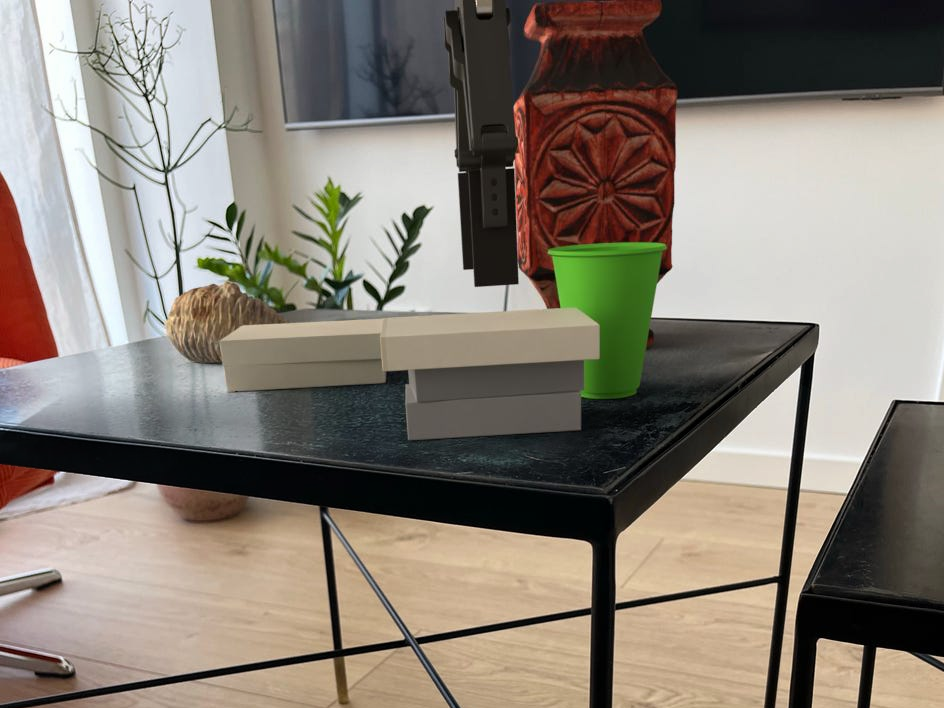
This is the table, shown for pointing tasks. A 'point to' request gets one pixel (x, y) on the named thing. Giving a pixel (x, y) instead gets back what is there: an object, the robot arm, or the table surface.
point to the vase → (593, 137)
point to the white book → (488, 339)
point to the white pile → (303, 355)
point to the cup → (611, 307)
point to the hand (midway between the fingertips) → (488, 276)
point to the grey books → (494, 400)
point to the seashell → (213, 319)
